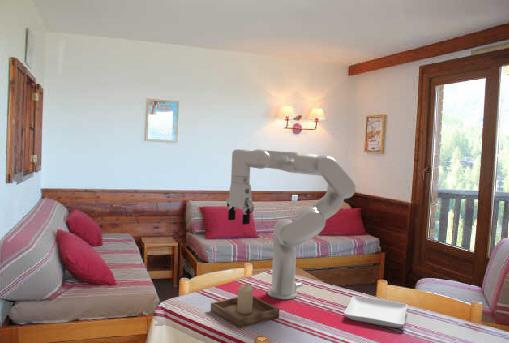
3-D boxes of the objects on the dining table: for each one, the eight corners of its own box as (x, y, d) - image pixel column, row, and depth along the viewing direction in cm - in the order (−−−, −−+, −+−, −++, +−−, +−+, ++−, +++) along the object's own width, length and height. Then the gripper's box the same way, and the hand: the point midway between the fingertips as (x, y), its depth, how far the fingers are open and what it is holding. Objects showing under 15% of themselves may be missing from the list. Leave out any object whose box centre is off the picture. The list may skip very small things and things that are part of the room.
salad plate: (342, 321, 164) (343, 312, 163) (352, 302, 183) (353, 294, 183) (403, 333, 156) (404, 324, 156) (407, 312, 176) (407, 303, 175)
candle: (250, 315, 163) (251, 288, 162) (235, 313, 164) (236, 286, 163) (253, 309, 168) (254, 283, 167) (238, 307, 169) (240, 281, 168)
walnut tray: (248, 301, 179) (249, 294, 178) (279, 316, 165) (279, 308, 164) (210, 310, 167) (210, 303, 167) (239, 328, 153) (239, 319, 153)
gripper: (261, 182, 177) (259, 225, 179) (235, 177, 191) (233, 217, 192) (246, 182, 173) (244, 226, 174) (220, 178, 186) (219, 219, 188)
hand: (238, 222), depth 183 cm, fingers open, 9 cm apart
